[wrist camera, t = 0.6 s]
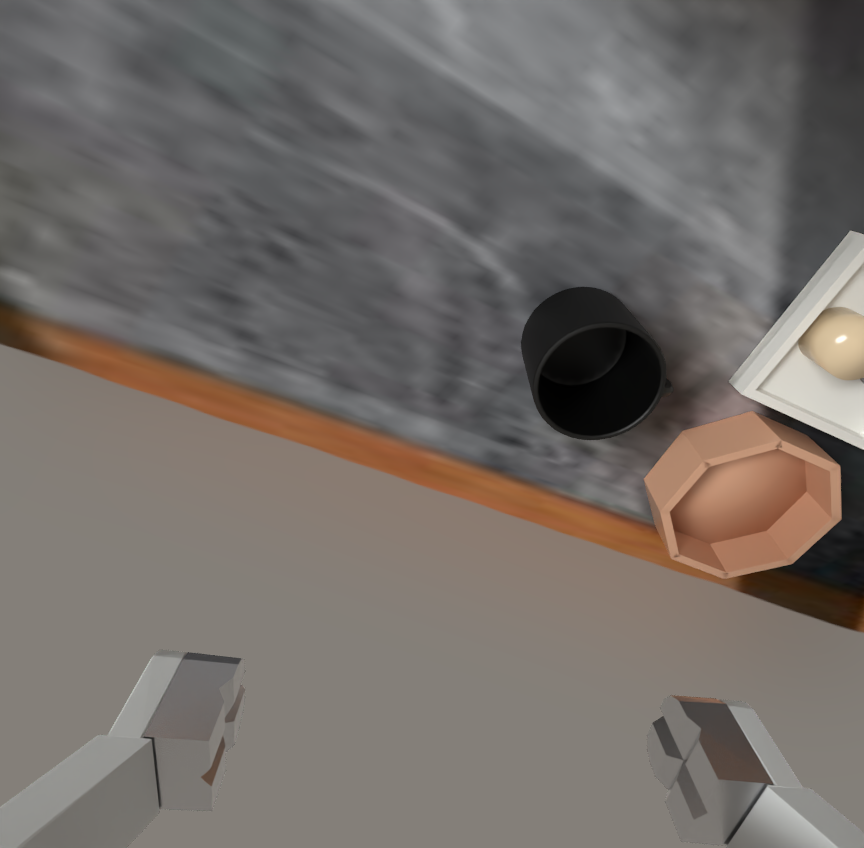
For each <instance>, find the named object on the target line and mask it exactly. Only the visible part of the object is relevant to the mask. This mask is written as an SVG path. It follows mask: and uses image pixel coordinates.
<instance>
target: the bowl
mask: <svg viewBox="0 0 864 848" xmlns="http://www.w3.org/2000/svg"><path fill="white" fill-rule="evenodd" d="M644 483H645V487H646V491H647V495H648V499H649V503H650V507H651V511H652V515H653V519H654V523H655V526H656V528H657V530H658V532H659V534H660V536H661V539H662V541H663V543H664V545H665V547H666V549H667V551H668V553H669V555H670V557H671V559H673V560H676V561H678V562H681V563H684V564H686V565H689V566H691V567H694V568H697V569H699V570H702V571H705V572H707V573H710V574H712V575H715V576H718V577H720V578H723V579H726V578H731V577H735V576H740V575H744V574H749V573H753V572H758V571H763V570H767V569H772V568H776V567H781V566H785V565H790V564H793V563H794V562H795V561H796V560H797V559H798V558H799V557H800V556H801V555H803V554H804V553H805V552H806V551H807V550H808V549H809V548H810V547H811V546H812V545H814V544H815V543H816V542H817V541H818V540H819V539H820V538H821V537H822V536H823V535H825V534H826V533H827V532H828V531H829V530H830V529H831V528H832V527H833V526H834V525H836V524H837V523H838V522H839V521H840V520H841V519H842V518H841V475H840V465H839V464H838V463H837V462H835V461H834V460H833V459H832V458H831V457H830V456H829V455H828V454H827V453H826V452H825V451H823V450H822V449H821V448H820V447H819V446H818V445H817V444H816V443H815V442H814V441H813V440H812V439H810V438H809V437H808V436H807V435H805V434H803V433H801V432H798V431H796V430H794V429H792V428H790V427H787V426H785V425H783V424H781V423H778V422H776V421H774V420H772V419H769V418H767V417H765V416H763V415H761V414H758V413H756V412H754V411H751V412H747V413H744V414H740V415H737V416H733V417H730V418H726V419H722V420H719V421H715V422H712V423H708V424H705V425H701V426H698V427H694V428H691V429H687V430H684V431H682V432H681V433H680V434H679V436H678V437H677V438H676V439H675V441H674V442H673V443H672V444H671V446H670V447H669V448H668V449H667V451H666V452H665V453H664V454H663V456H662V457H661V458H660V459H659V461H658V462H657V463H656V464H655V466H654V467H653V468H652V469H651V471H650V472H649V473H648V474H647V476H646V477H645V478H644Z"/></svg>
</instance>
